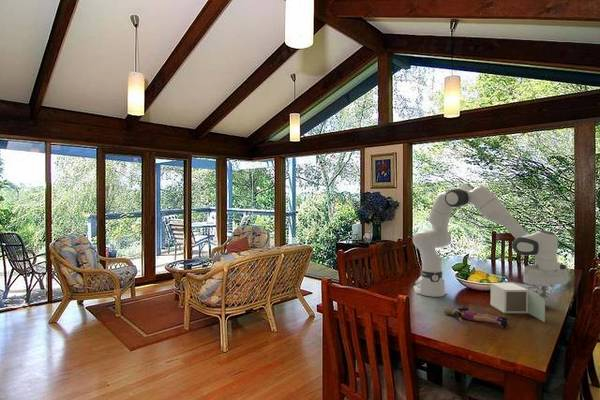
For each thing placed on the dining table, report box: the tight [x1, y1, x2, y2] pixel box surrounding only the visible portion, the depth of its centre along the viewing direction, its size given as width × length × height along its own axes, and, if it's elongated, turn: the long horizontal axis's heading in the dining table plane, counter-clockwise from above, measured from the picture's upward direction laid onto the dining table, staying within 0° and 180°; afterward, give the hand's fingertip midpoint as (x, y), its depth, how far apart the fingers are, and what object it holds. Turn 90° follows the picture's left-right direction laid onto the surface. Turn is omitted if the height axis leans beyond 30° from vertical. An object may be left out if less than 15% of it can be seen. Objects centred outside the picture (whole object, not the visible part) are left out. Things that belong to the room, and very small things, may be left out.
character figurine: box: [442, 306, 508, 329], centre depth 169 cm, size 20×4×28 cm
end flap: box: [527, 285, 549, 323], centre depth 171 cm, size 2×12×17 cm, turn 178°
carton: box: [489, 282, 529, 314], centre depth 185 cm, size 14×12×12 cm
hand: (544, 293), depth 166 cm, fingers open, 3 cm apart
